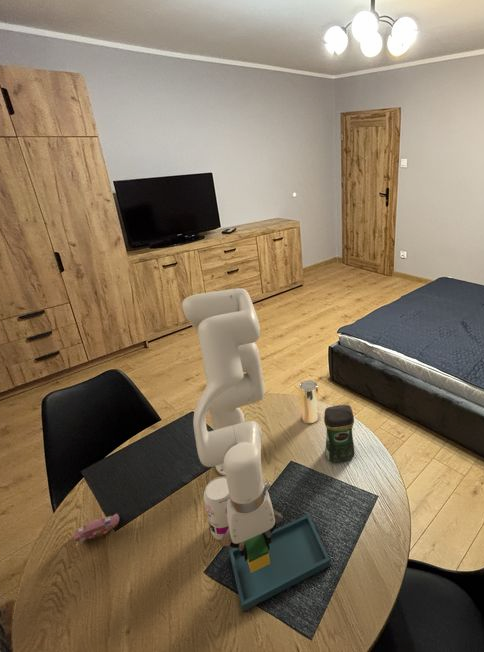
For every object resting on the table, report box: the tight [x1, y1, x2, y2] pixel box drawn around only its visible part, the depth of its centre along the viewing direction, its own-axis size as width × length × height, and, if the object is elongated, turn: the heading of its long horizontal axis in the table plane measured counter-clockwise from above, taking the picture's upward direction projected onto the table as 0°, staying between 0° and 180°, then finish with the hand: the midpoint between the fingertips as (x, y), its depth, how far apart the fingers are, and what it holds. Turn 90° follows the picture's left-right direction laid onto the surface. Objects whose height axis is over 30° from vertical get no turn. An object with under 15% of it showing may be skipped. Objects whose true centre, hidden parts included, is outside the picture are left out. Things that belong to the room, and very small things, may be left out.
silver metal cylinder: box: [298, 379, 319, 424], centre depth 137 cm, size 7×7×15 cm
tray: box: [228, 514, 331, 613], centre depth 91 cm, size 14×22×2 cm, turn 117°
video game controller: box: [73, 513, 120, 543], centre depth 97 cm, size 10×5×7 cm, turn 118°
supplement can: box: [203, 475, 230, 541], centre depth 97 cm, size 8×8×15 cm
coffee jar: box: [323, 404, 355, 463], centre depth 120 cm, size 10×8×19 cm
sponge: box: [245, 533, 270, 573], centre depth 88 cm, size 7×5×5 cm, turn 27°
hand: (256, 549), depth 88 cm, fingers closed on sponge, 4 cm apart
